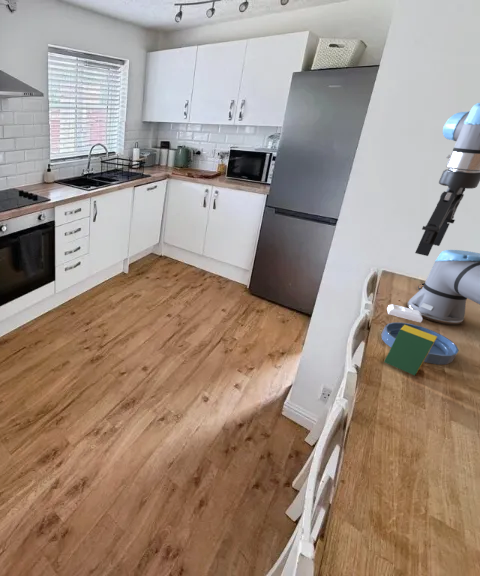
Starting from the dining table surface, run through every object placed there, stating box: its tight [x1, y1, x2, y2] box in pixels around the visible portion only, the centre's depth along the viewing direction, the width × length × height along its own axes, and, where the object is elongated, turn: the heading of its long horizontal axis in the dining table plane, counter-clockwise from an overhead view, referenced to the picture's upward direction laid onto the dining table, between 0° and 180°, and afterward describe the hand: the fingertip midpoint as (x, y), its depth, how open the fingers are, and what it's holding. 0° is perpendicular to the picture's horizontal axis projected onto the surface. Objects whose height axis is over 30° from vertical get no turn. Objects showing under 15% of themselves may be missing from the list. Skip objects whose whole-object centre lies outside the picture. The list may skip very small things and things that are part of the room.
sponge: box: [383, 325, 437, 376], centre depth 98 cm, size 4×7×11 cm, turn 40°
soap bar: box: [386, 303, 424, 323], centre depth 126 cm, size 5×9×3 cm, turn 57°
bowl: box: [381, 321, 459, 365], centre depth 108 cm, size 17×17×4 cm
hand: (427, 249), depth 103 cm, fingers open, 13 cm apart
